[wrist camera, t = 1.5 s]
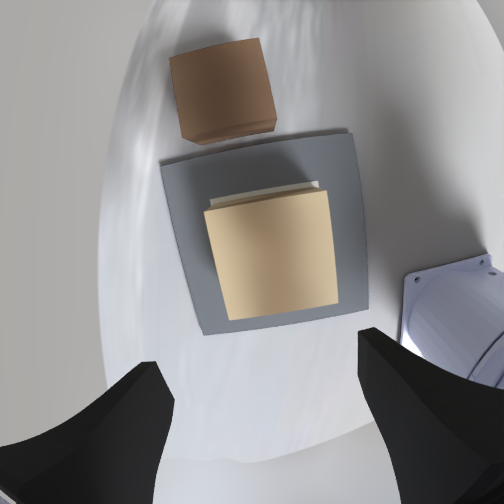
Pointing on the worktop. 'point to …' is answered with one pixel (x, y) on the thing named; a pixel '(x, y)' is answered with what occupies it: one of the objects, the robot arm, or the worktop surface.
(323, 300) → the oak block
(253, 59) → the walnut block
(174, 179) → the mat
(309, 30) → the worktop surface
